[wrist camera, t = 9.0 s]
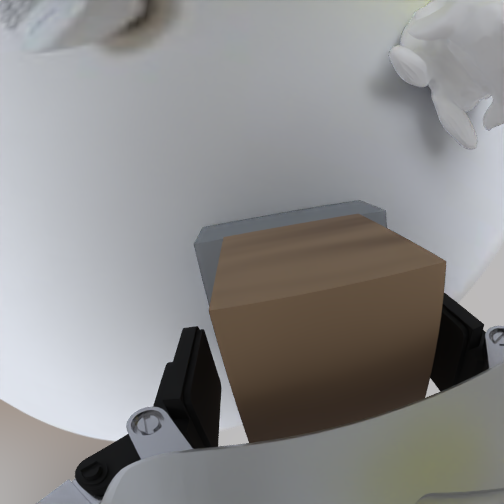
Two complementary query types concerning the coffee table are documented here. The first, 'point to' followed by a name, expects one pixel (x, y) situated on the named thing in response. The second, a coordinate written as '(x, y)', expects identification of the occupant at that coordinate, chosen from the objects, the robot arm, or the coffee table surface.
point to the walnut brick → (325, 323)
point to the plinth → (213, 235)
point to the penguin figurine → (456, 61)
